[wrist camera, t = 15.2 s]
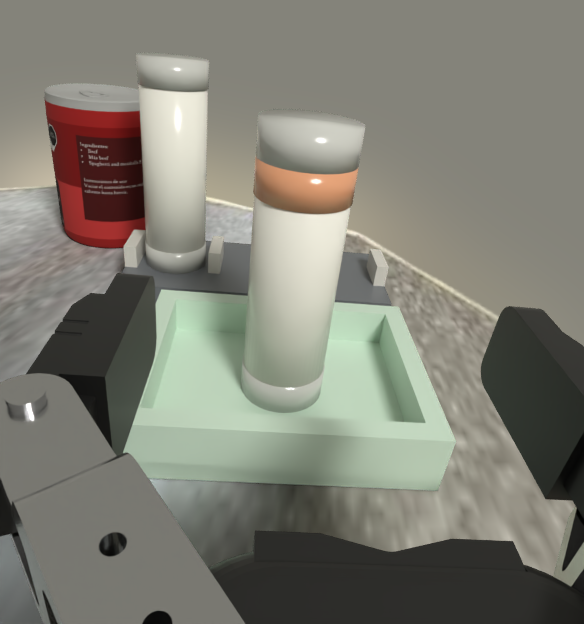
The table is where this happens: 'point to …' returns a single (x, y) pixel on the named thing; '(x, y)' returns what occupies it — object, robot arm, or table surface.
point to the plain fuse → (174, 159)
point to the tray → (297, 425)
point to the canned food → (97, 161)
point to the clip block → (236, 263)
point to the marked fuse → (296, 251)
